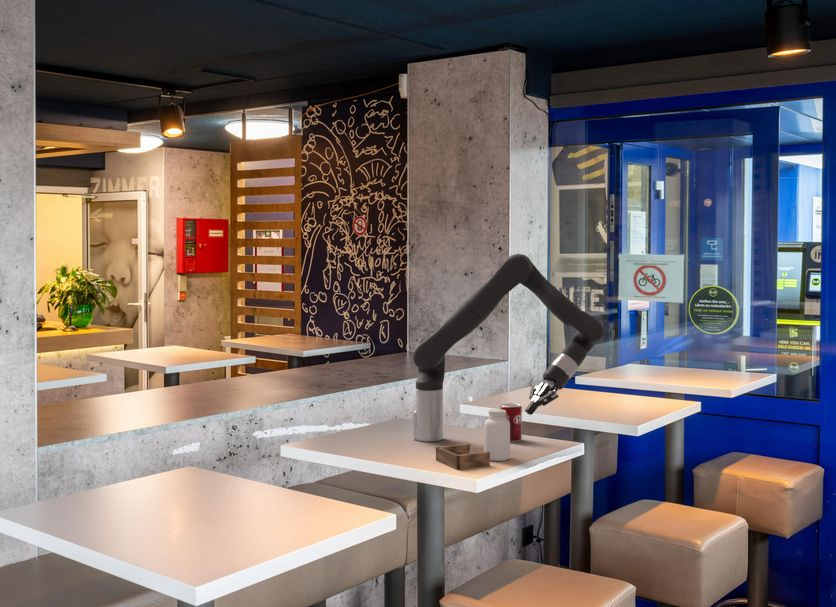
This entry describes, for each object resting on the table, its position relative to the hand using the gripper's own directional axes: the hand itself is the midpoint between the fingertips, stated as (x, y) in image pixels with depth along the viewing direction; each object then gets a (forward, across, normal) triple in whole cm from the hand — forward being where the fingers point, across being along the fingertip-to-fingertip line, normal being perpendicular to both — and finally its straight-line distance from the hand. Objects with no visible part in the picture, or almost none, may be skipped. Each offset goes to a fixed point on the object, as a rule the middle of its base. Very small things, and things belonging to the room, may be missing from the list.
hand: (528, 412), depth 284 cm
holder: (+25, 0, -7) cm, 26 cm away
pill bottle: (+18, 0, +2) cm, 18 cm away
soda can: (+5, -21, +14) cm, 26 cm away
